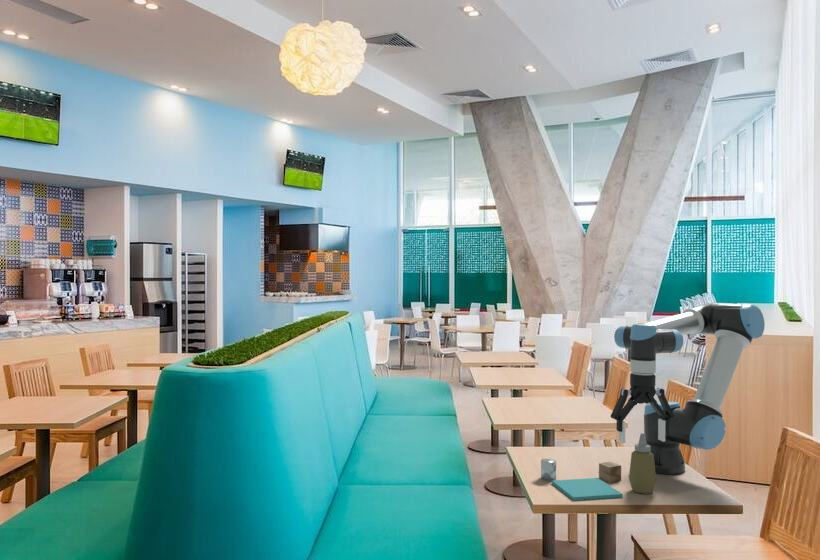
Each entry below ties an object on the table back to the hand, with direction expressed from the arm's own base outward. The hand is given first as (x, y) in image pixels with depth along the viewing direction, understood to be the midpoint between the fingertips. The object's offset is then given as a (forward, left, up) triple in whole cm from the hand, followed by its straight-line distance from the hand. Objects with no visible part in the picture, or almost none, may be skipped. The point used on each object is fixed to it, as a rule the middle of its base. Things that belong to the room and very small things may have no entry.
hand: (641, 441), depth 200 cm
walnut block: (+4, -13, -16) cm, 21 cm away
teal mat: (+17, -4, -16) cm, 23 cm away
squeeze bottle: (0, 0, -16) cm, 16 cm away
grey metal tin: (+24, -17, -16) cm, 33 cm away
